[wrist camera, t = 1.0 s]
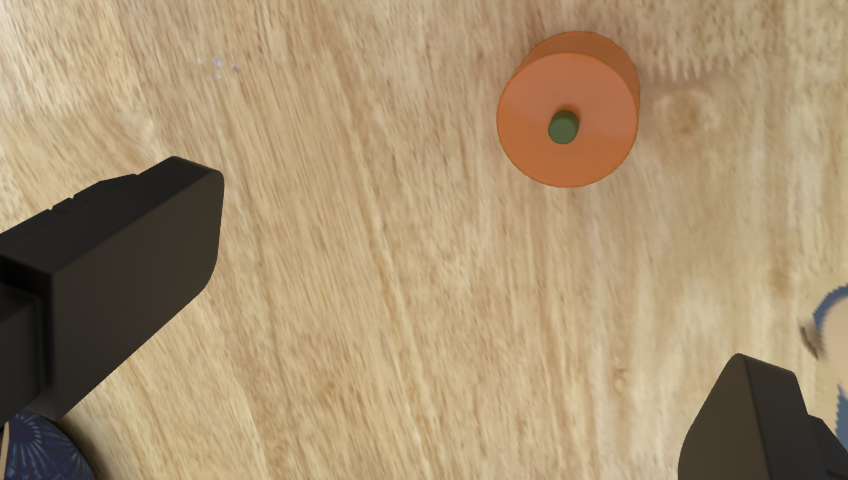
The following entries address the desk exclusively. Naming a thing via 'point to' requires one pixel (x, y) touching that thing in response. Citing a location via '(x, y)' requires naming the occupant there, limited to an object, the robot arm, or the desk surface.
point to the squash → (570, 110)
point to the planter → (42, 451)
